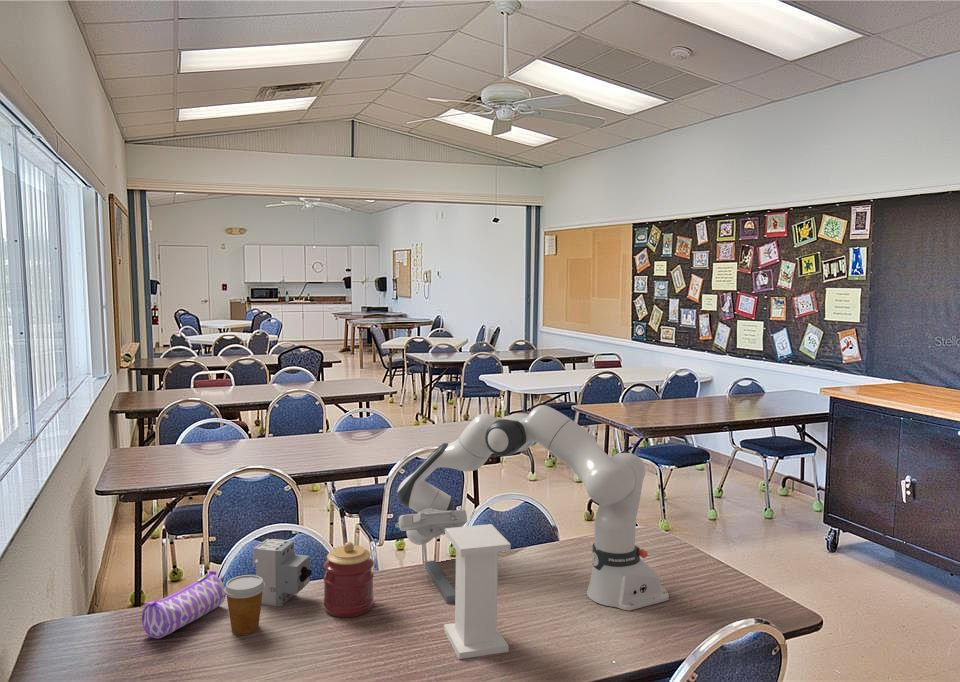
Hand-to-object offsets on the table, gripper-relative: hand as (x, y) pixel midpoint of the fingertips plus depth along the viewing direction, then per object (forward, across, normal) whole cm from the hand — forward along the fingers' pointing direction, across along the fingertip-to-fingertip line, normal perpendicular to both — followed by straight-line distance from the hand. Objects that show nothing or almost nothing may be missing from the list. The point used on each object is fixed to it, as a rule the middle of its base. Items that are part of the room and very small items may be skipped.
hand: (438, 514), depth 204 cm
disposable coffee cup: (+3, -53, +24) cm, 58 cm away
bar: (-8, 0, +19) cm, 21 cm away
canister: (-1, -27, +22) cm, 35 cm away
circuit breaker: (-9, -43, +18) cm, 47 cm away
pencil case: (-5, -67, +20) cm, 70 cm away
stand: (+22, 0, +35) cm, 41 cm away
